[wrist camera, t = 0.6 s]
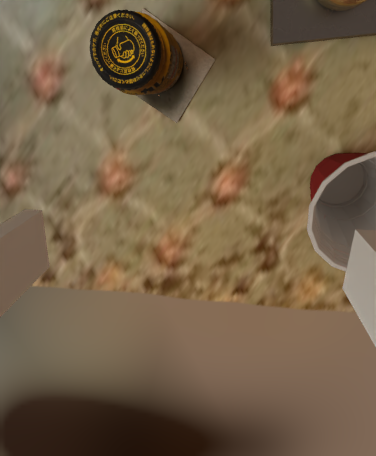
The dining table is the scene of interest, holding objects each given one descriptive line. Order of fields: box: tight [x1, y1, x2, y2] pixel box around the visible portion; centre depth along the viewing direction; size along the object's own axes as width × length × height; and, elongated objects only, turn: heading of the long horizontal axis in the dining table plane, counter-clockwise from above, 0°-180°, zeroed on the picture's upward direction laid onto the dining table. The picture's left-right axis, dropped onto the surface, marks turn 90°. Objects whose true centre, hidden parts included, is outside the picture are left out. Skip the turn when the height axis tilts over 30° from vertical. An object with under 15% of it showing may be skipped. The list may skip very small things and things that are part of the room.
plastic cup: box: [307, 151, 376, 271], centre depth 34 cm, size 11×11×12 cm
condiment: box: [90, 8, 215, 123], centre depth 31 cm, size 7×8×12 cm
